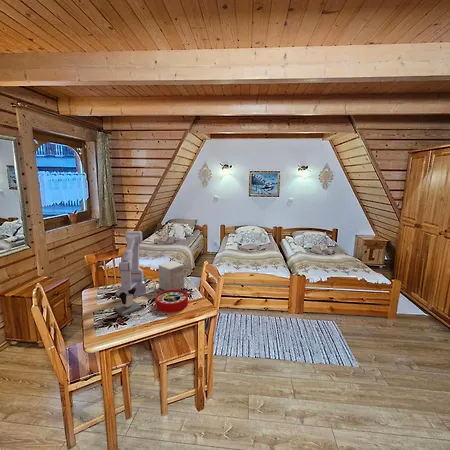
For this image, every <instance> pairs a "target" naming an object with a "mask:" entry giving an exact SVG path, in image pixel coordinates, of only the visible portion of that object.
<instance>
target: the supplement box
mask: <svg viewBox="0 0 450 450" xmlns="http://www.w3.org/2000/svg"><path fill="white" fill-rule="evenodd" d="M158 276H159V277H158V279H159V289H161V290H163V291H166V290H181V289H183V288H185V265H184V264H183V263H180V262H178V261H174V260H171V261H168V262H164V263H160V264H158Z"/></svg>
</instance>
